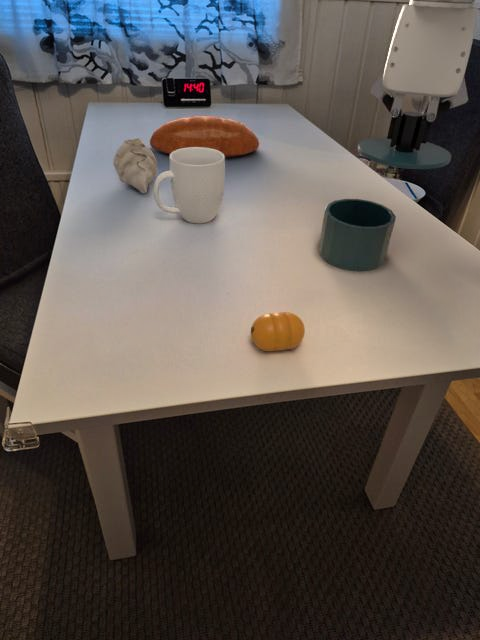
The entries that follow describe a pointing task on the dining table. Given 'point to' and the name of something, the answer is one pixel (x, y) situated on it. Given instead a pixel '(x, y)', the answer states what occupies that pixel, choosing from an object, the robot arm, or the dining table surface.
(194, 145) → the bread
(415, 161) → the lid
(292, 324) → the orange ribbed oval piece
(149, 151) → the seashell
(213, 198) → the mug
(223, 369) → the dining table surface
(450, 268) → the dining table surface
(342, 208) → the pot
